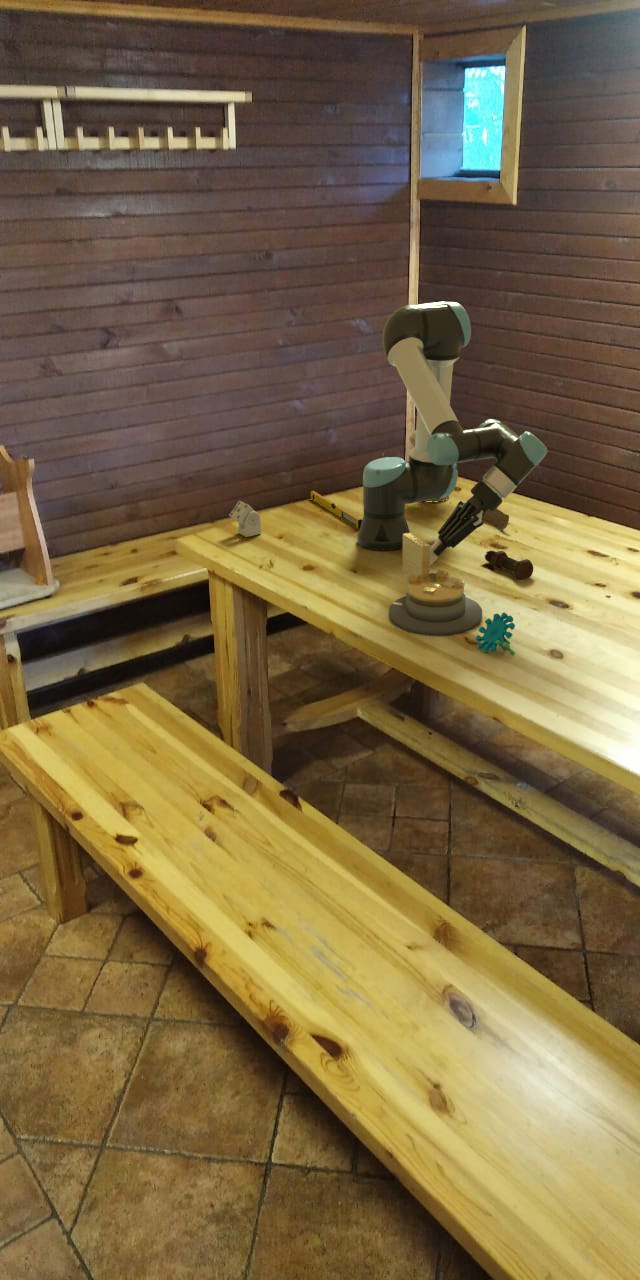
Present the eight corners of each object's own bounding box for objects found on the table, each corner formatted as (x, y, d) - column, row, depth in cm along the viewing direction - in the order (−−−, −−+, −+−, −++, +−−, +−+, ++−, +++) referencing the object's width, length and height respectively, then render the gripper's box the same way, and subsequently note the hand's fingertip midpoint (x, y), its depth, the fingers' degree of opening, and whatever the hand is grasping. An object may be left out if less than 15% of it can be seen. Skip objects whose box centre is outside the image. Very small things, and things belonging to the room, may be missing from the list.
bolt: (490, 568, 264) (527, 584, 252) (477, 562, 261) (514, 578, 249) (499, 548, 264) (537, 563, 251) (486, 542, 261) (524, 557, 249)
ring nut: (474, 600, 227) (476, 557, 223) (424, 610, 223) (425, 566, 218) (428, 569, 245) (429, 529, 240) (382, 578, 241) (382, 537, 236)
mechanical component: (262, 534, 288) (260, 501, 283) (239, 540, 284) (236, 507, 280) (252, 529, 292) (250, 497, 287) (230, 535, 288) (227, 502, 284)
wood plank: (475, 517, 296) (475, 501, 294) (481, 516, 297) (481, 500, 295) (502, 532, 284) (503, 516, 281) (509, 531, 284) (510, 515, 282)
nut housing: (370, 613, 235) (370, 594, 233) (438, 590, 246) (438, 571, 244) (431, 644, 219) (432, 624, 217) (501, 618, 230) (502, 599, 228)
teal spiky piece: (468, 632, 220) (501, 602, 217) (484, 646, 223) (517, 616, 220) (484, 660, 211) (519, 629, 208) (500, 674, 214) (535, 643, 211)
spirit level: (310, 499, 317) (310, 490, 316) (314, 499, 318) (313, 490, 316) (358, 529, 290) (358, 520, 289) (362, 529, 290) (362, 519, 289)
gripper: (512, 507, 228) (442, 581, 233) (493, 491, 240) (427, 562, 245) (491, 487, 225) (421, 563, 230) (473, 472, 237) (406, 544, 242)
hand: (424, 562), depth 237 cm, fingers closed
